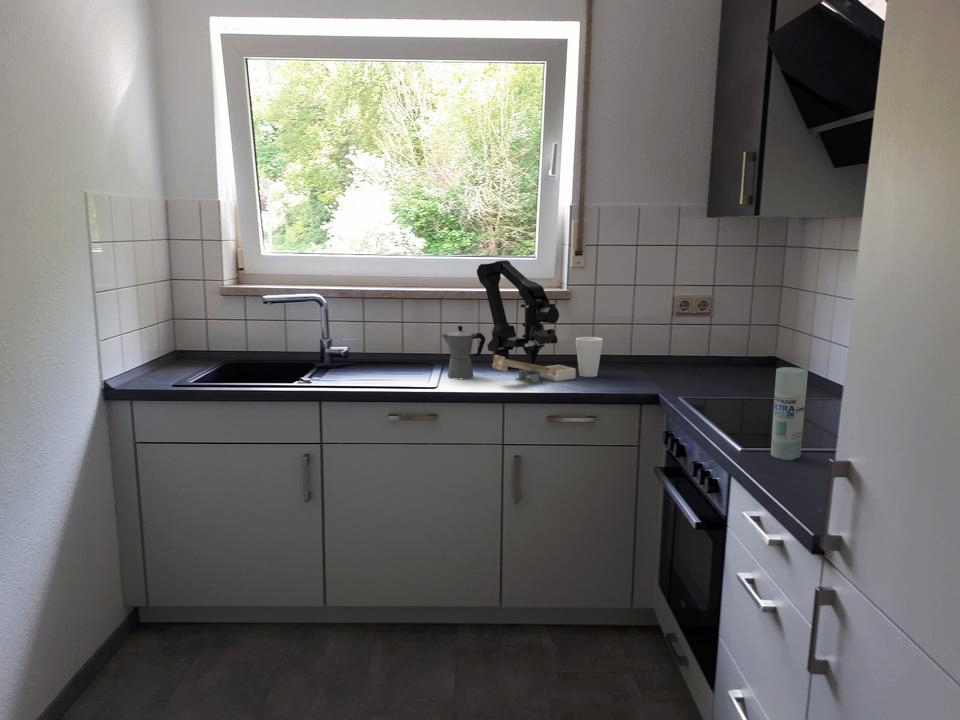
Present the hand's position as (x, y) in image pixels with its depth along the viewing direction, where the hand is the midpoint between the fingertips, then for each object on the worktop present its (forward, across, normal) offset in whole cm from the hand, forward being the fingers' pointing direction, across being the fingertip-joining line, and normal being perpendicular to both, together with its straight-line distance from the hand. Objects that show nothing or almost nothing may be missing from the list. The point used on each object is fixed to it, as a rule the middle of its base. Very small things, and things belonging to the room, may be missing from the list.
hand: (532, 364), depth 259 cm
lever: (+1, -11, -6) cm, 12 cm away
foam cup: (+4, +15, -13) cm, 20 cm away
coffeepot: (+4, -24, +8) cm, 25 cm away
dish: (+3, +3, -11) cm, 12 cm away
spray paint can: (+3, -9, -108) cm, 109 cm away
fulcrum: (+3, -9, -10) cm, 14 cm away
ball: (+1, +4, -10) cm, 11 cm away
